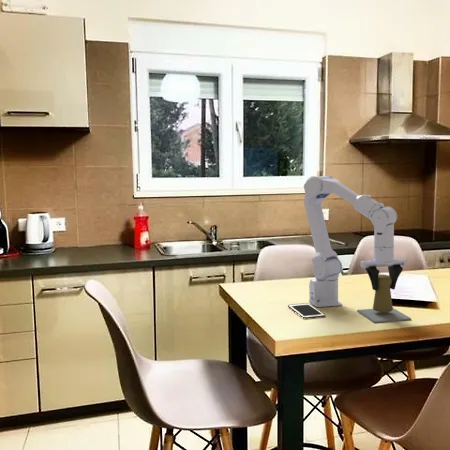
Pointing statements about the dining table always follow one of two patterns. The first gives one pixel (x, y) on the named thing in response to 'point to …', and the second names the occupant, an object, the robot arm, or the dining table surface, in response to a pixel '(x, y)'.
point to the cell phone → (306, 310)
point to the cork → (383, 295)
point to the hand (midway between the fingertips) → (383, 289)
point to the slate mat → (383, 315)
